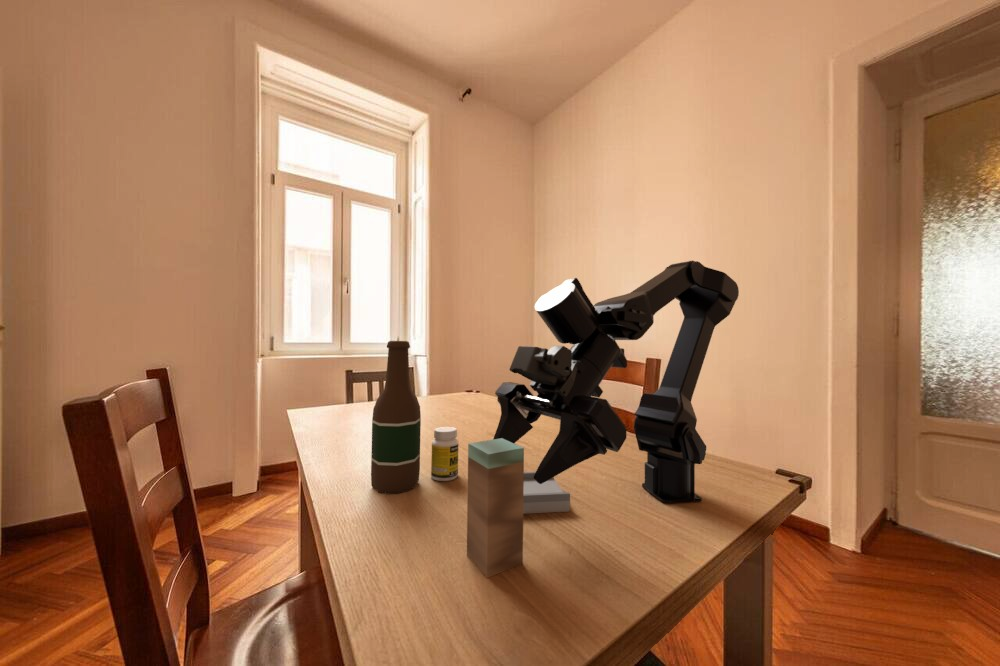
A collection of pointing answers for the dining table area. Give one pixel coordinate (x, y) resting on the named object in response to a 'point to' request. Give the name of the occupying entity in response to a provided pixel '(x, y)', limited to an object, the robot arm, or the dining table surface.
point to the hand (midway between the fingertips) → (511, 467)
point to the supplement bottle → (444, 454)
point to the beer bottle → (396, 427)
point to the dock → (543, 496)
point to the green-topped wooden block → (495, 505)
